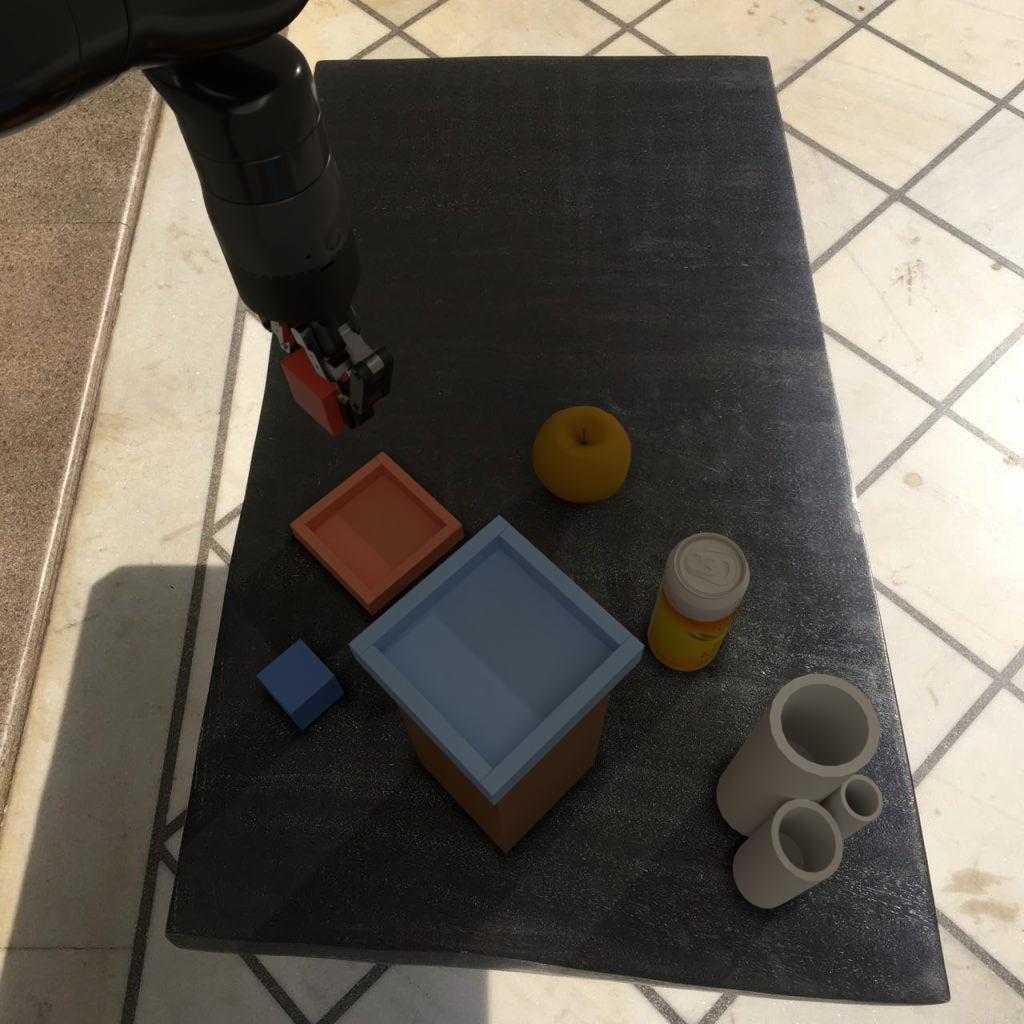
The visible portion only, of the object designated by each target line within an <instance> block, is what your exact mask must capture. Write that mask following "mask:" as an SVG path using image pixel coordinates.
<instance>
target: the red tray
mask: <svg viewBox="0 0 1024 1024" xmlns="http://www.w3.org/2000/svg"><path fill="white" fill-rule="evenodd" d="M463 526H464V525H463V524H462V523H461V522H460V521H459V520H458V519H457V518H456V517H455V516H454V515H453V514H452V513H450V512H449V511H448V510H447V509H446V508H445V507H444V506H443V505H441V504H440V503H439V501H437V500H436V499H435V498H434V497H433V496H432V495H431V494H430V493H429V492H428V491H426V489H424V488H423V487H422V486H421V485H420V484H419V483H418V482H417V481H416V480H415V479H414V478H413V477H411V475H409V474H408V473H407V472H406V471H405V470H404V469H403V468H402V467H401V466H399V464H398V463H396V462H395V461H394V460H393V459H392V458H391V457H390V456H389V455H387V453H385V451H381V452H380V453H378V454H377V455H375V457H373V458H372V459H371V460H369V461H368V462H367V463H365V464H364V465H363V466H361V467H360V468H359V469H358V470H357V471H355V472H354V473H353V474H352V475H350V476H349V477H348V478H347V479H345V480H344V481H343V482H342V483H340V484H338V485H337V487H335V488H333V490H331V491H330V492H329V493H327V494H326V495H325V496H323V497H322V498H321V499H320V500H318V501H317V502H316V503H315V504H313V505H312V506H310V508H308V509H307V510H306V511H305V512H303V513H302V514H301V515H299V516H298V517H297V518H295V519H294V520H293V521H292V522H291V523H289V527H290V528H291V531H292V533H293V535H294V537H295V538H296V539H297V540H298V541H299V543H301V545H303V546H304V547H305V549H307V551H308V552H309V553H310V554H311V555H313V557H314V558H315V559H316V560H317V561H318V562H319V563H320V564H321V565H322V566H323V567H324V568H325V569H326V570H327V571H328V573H330V574H331V575H332V576H333V577H334V578H335V579H336V580H337V581H338V582H339V583H340V585H342V586H343V587H344V588H345V590H346V591H348V593H349V594H351V596H352V597H354V599H355V600H356V601H357V602H358V603H359V605H361V606H362V607H363V608H364V609H365V610H366V611H367V612H368V613H369V614H370V615H371V616H374V615H375V614H376V613H377V612H379V611H380V610H381V609H382V608H383V607H384V606H385V605H387V604H388V603H389V602H390V601H391V600H392V599H394V598H395V597H396V596H398V595H399V593H401V592H402V591H403V590H405V588H406V587H408V586H409V585H410V584H411V583H412V582H414V581H415V580H416V579H417V578H418V577H420V576H421V575H422V574H423V573H424V572H425V571H426V570H428V569H429V568H430V567H431V566H432V565H434V564H435V563H437V562H438V560H440V559H441V558H442V557H443V556H444V555H445V554H447V553H448V552H449V551H450V550H451V549H452V548H454V547H455V546H456V545H457V544H458V543H459V542H460V541H462V540H463V539H464V538H465V534H464V527H463Z"/></svg>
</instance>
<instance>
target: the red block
mask: <svg viewBox="0 0 1024 1024" xmlns="http://www.w3.org/2000/svg"><path fill="white" fill-rule="evenodd" d="M324 358H325V357H324ZM329 359H330V358H325V360H326V361H327V360H329ZM280 365H281V367H282V370H283V373H284V375H285V379H286V380H287V384H288V386H289V389H290V391H291V394H292V397H293V400H294V401H295V402H296V403H297V404H298V405H299V406H300V407H301V408H302V409H303V410H305V412H306V413H308V414H309V415H310V416H311V417H312V419H314V420H315V421H316V422H317V423H318V424H319V425H321V427H323V429H324V430H326V432H328V434H330V435H331V436H332V437H335V436H337V435H338V434H340V433H341V432H342V431H344V429H346V428H348V426H347V425H346V424H345V423H344V422H343V418H342V415H341V412H340V409H339V405H338V402H337V399H336V394H335V393H334V390H333V388H332V386H331V384H330V382H328V381H327V380H325V379H324V378H322V377H321V376H319V375H318V374H317V373H316V371H315V369H314V367H313V365H312V363H311V361H310V359H309V357H308V355H307V353H306V351H305V349H304V347H300V348H299V349H297V350H296V351H295V352H293V353H292V354H290V355H289V354H288V356H286V357H285V358H283V359H282V360H280ZM349 378H350V376H349V375H348V374H347V372H345V373H344V374H343V375H342V380H343V382H345V381H346V380H347V379H349ZM382 401H383V398H381V399H380V400H379V401H377V402H376V403H375V404H374V405H373V407H375V406H376V405H377V404H379V403H380V402H382Z"/></svg>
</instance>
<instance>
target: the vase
mask: <svg viewBox="0 0 1024 1024" xmlns="http://www.w3.org/2000/svg"><path fill="white" fill-rule="evenodd" d="M880 737H881V729H880V723H879V717H878V714H877V712H876V710H875V708H874V707H873V704H872V702H871V701H870V699H869V698H868V697H867V696H866V695H865V694H864V693H863V692H862V691H861V690H860V689H859V688H858V687H857V686H855V685H853V684H851V683H850V682H849V681H847V680H845V679H844V678H841V677H837V676H834V675H830V674H827V673H808V674H806V675H802V676H798V677H795V678H793V679H792V680H790V681H789V682H788V683H786V684H785V685H784V686H782V687H781V688H780V690H779V691H778V692H777V694H776V695H775V697H774V698H773V699H772V701H771V703H770V704H769V706H768V707H767V709H766V710H765V711H764V713H763V714H762V716H761V717H760V719H759V720H758V722H757V723H756V725H755V726H754V727H753V728H752V730H751V732H750V733H749V734H748V736H747V738H746V739H745V740H744V742H743V743H742V745H741V746H740V748H739V749H738V751H737V752H736V753H735V755H734V756H733V758H732V759H731V761H730V762H729V764H728V765H727V767H726V768H725V770H724V771H723V772H722V774H721V776H720V777H719V779H718V783H717V786H716V790H715V791H716V804H717V806H718V809H719V812H720V814H721V816H722V817H723V819H724V820H725V821H726V823H727V824H728V825H729V826H730V827H731V828H732V829H733V830H735V831H736V832H738V834H740V835H742V836H745V837H748V838H747V839H746V840H745V841H744V842H743V843H742V844H741V845H740V846H739V847H738V849H737V850H736V852H735V854H734V856H733V862H732V873H733V875H732V876H733V879H734V882H735V884H736V887H737V889H738V891H739V892H740V893H741V895H742V896H743V898H744V899H745V900H746V901H748V902H749V903H750V904H752V905H753V906H756V907H758V908H760V909H774V908H776V907H779V906H782V905H783V904H785V903H787V902H789V901H790V900H792V899H794V898H795V897H797V896H799V895H801V894H803V893H804V892H806V891H807V890H809V889H811V888H813V887H815V886H816V885H818V884H820V883H821V882H823V881H824V880H827V879H829V878H830V877H831V876H832V875H833V874H834V873H835V872H836V871H838V869H839V867H840V864H841V862H842V861H843V854H844V843H843V842H844V841H845V840H846V839H848V838H849V837H851V836H852V835H854V834H855V833H857V832H858V831H860V830H861V829H862V828H864V827H866V826H867V825H869V824H870V823H872V822H873V821H874V820H876V819H877V818H878V817H879V816H880V815H881V814H882V813H881V812H882V811H883V806H884V800H883V795H882V792H881V790H880V788H879V786H878V785H877V784H876V783H875V781H873V780H872V779H871V778H870V777H868V776H866V775H863V774H856V773H858V772H859V771H860V770H862V769H863V768H864V767H865V766H866V765H867V764H868V763H870V762H871V760H872V759H873V756H874V755H875V753H876V752H877V750H878V746H879V741H880Z"/></svg>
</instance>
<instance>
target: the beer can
mask: <svg viewBox="0 0 1024 1024" xmlns="http://www.w3.org/2000/svg"><path fill="white" fill-rule="evenodd" d="M750 573H751V572H750V566H749V563H748V561H747V559H746V556H745V554H744V552H743V551H742V549H741V548H740V546H739V545H738V544H737V543H736V542H734V541H733V540H732V539H730V538H729V537H727V536H726V535H723V534H719V533H716V532H699V533H696V534H693V535H690V536H688V537H686V538H685V539H682V540H681V541H679V542H678V543H677V544H676V545H675V546H674V547H673V548H672V550H671V551H670V553H669V554H668V558H667V560H666V564H665V567H664V571H663V574H662V578H661V582H660V585H659V589H658V592H657V596H656V599H655V603H654V607H653V610H652V614H651V617H650V621H649V624H648V628H647V639H648V640H647V641H648V645H649V648H650V650H651V652H652V654H653V655H654V657H655V658H656V659H657V660H658V661H659V662H660V663H662V664H664V665H665V666H666V667H668V668H671V669H672V670H676V671H680V672H692V671H696V670H699V669H702V668H704V667H706V666H707V665H709V664H710V663H711V662H712V661H713V660H714V658H715V657H716V655H717V653H718V651H719V650H720V648H721V645H722V643H723V641H724V638H725V636H726V634H727V632H728V630H729V628H730V626H731V623H732V621H733V620H734V617H735V616H736V613H737V611H738V609H739V607H740V605H741V603H742V600H743V598H744V596H745V594H746V591H747V590H748V587H749V584H750V580H751V579H750V578H751V577H750V576H751V574H750Z"/></svg>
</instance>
